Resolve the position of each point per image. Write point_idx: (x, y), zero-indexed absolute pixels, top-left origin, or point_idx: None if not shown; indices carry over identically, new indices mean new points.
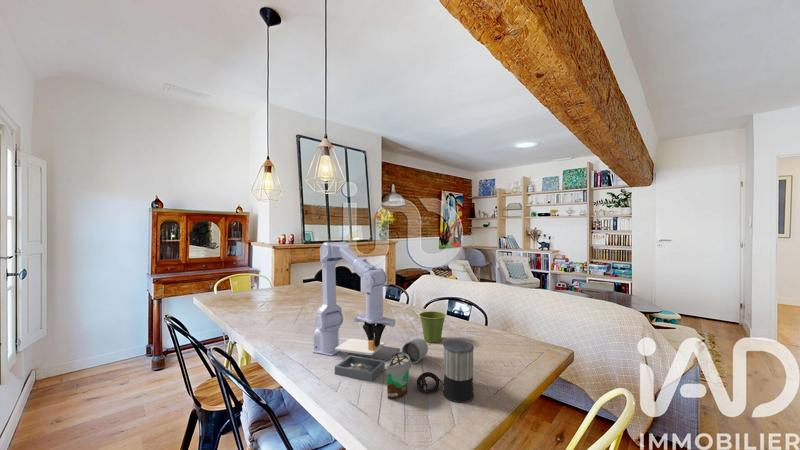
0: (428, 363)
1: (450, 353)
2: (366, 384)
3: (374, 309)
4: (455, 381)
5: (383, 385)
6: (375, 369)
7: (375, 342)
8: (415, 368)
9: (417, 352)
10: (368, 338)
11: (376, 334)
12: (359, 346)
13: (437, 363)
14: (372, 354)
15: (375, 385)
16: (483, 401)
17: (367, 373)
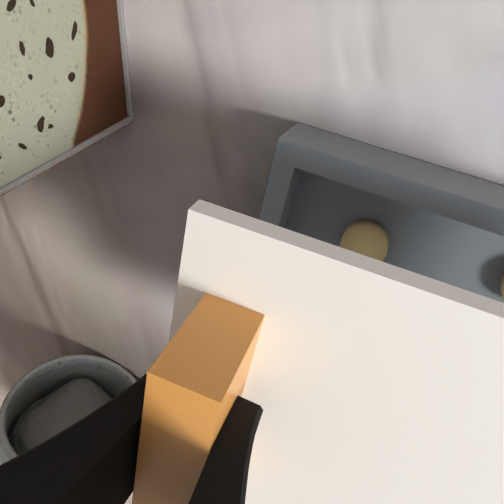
0: (40, 354)
1: None
2: (333, 71)
3: None
4: None
5: (196, 73)
6: (262, 219)
7: (142, 399)
8: (79, 308)
9: (45, 409)
10: (231, 489)
11: (13, 493)
12: (422, 445)
13: (4, 350)
14: (195, 216)
15: (255, 64)
16: None
17: (321, 150)
